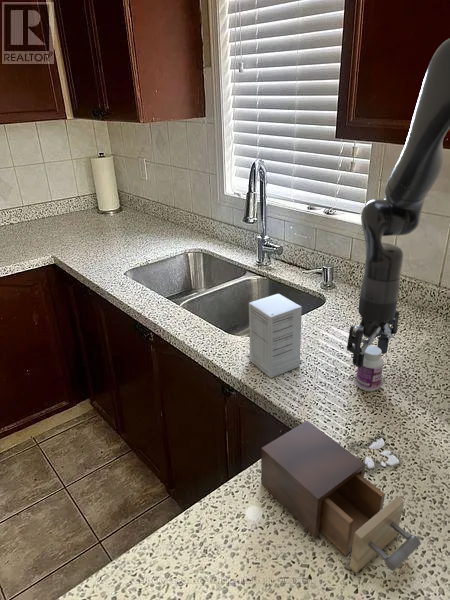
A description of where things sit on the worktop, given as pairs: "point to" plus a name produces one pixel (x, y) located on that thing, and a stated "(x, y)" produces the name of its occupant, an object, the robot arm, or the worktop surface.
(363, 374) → the pill bottle
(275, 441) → the cabinet
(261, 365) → the supplement box
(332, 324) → the worktop surface
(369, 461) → the white lumpy pieces
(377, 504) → the drawer
